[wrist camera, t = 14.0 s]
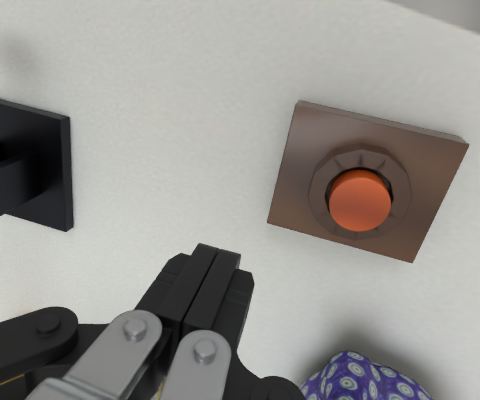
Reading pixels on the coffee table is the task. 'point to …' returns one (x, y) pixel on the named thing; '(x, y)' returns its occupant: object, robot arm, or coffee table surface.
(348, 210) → the button
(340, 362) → the teapot
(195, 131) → the coffee table surface
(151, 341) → the robot arm
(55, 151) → the lever base
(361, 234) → the switch
